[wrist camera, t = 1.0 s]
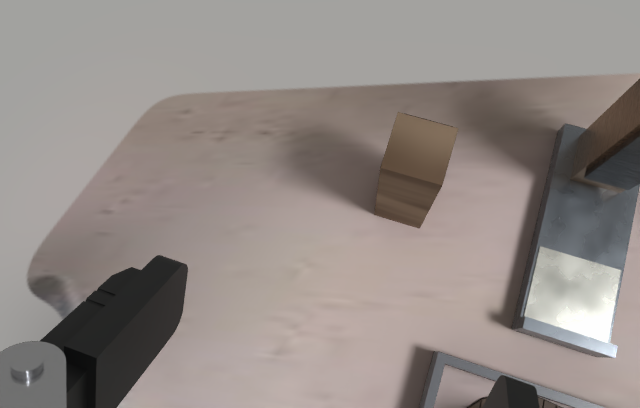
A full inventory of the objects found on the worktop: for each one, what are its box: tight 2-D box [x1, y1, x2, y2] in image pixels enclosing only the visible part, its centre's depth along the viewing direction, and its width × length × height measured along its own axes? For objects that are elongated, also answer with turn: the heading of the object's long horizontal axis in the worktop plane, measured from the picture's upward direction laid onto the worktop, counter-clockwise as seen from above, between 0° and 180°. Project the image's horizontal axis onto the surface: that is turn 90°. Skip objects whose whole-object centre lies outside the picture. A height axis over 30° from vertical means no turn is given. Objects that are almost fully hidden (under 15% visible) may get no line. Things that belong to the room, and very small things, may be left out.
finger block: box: [374, 112, 458, 228], centre depth 35 cm, size 4×4×11 cm
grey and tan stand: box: [512, 79, 640, 358], centre depth 33 cm, size 16×6×12 cm, turn 162°
